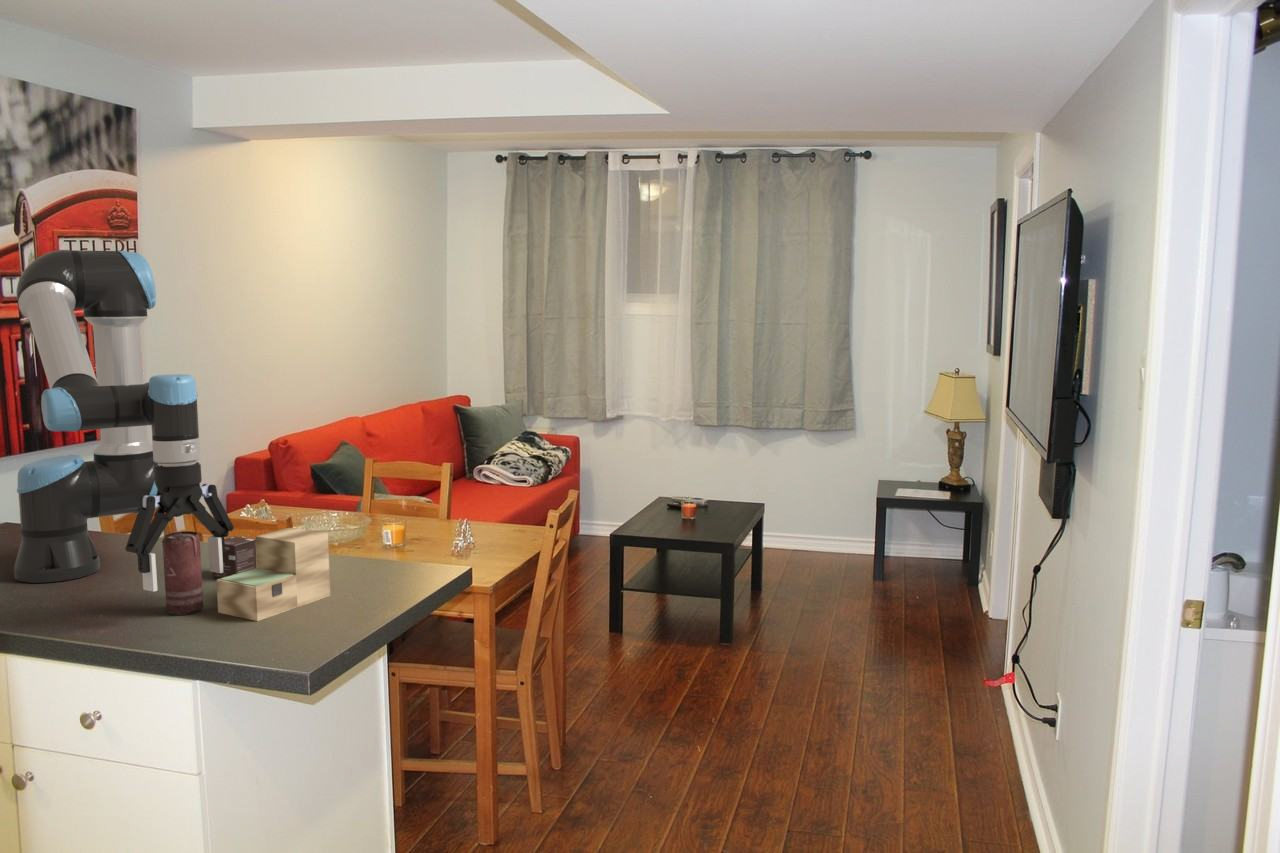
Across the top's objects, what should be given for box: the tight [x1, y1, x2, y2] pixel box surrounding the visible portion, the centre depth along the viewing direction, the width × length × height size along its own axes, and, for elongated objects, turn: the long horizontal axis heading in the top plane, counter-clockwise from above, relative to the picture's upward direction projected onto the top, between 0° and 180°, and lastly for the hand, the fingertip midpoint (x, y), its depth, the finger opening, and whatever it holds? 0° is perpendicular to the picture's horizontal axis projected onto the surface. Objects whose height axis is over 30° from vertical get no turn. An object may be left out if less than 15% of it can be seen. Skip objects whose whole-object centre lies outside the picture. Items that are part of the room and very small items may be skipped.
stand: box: [216, 527, 331, 622], centre depth 187 cm, size 10×17×12 cm, turn 151°
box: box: [212, 535, 257, 579], centre depth 206 cm, size 6×6×7 cm
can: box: [162, 530, 204, 616], centre depth 183 cm, size 6×6×14 cm
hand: (184, 581), depth 183 cm, fingers open, 13 cm apart
